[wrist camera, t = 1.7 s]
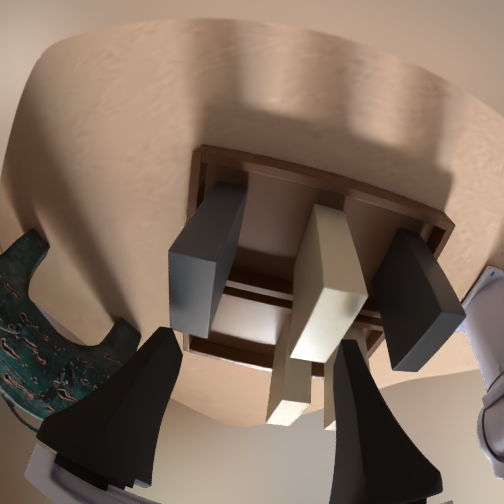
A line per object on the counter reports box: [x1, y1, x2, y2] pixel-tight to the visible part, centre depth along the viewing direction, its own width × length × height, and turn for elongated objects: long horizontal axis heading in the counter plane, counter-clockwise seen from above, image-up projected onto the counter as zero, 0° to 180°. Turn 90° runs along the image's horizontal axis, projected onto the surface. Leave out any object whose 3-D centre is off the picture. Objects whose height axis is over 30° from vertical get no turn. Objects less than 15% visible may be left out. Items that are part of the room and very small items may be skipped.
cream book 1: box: [266, 315, 312, 426], centre depth 21 cm, size 2×5×8 cm, turn 170°
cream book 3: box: [324, 326, 370, 430], centre depth 21 cm, size 2×5×8 cm, turn 170°
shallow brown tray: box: [183, 286, 385, 380], centre depth 24 cm, size 17×9×2 cm, turn 80°
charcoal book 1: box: [168, 181, 248, 339], centre depth 15 cm, size 2×5×8 cm, turn 170°
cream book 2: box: [290, 204, 368, 363], centre depth 15 cm, size 2×5×8 cm, turn 170°
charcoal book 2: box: [371, 228, 467, 372], centre depth 15 cm, size 2×5×8 cm, turn 170°
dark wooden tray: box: [186, 144, 455, 318], centre depth 18 cm, size 17×9×2 cm, turn 80°
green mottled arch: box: [0, 228, 141, 433], centre depth 18 cm, size 20×6×20 cm, turn 41°
